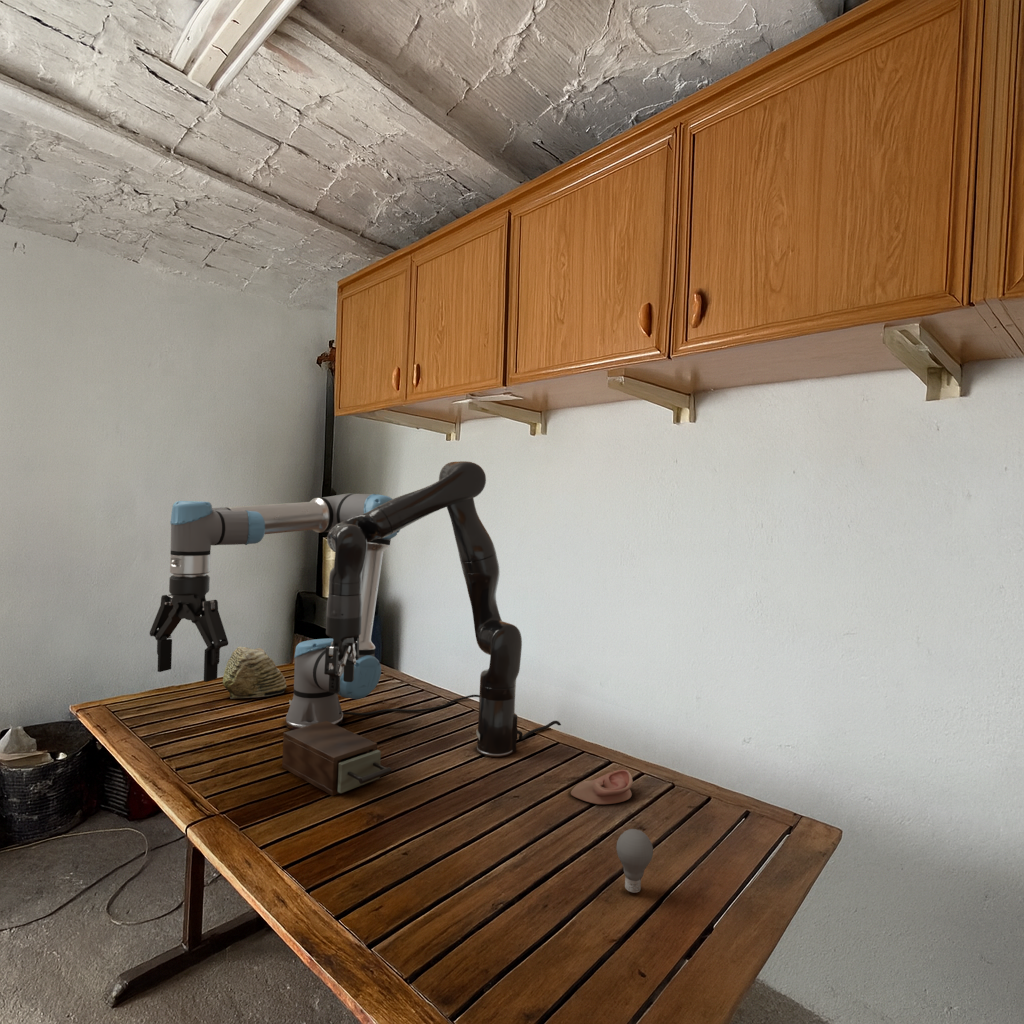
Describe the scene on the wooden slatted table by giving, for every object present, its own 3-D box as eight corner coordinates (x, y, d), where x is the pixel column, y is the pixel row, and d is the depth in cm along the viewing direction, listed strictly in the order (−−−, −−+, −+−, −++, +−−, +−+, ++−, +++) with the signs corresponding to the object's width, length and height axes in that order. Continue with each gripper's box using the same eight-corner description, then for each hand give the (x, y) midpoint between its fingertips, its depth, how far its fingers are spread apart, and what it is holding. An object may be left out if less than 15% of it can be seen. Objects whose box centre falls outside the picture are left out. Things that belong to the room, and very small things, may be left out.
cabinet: (375, 779, 143) (377, 743, 143) (332, 796, 134) (333, 757, 134) (325, 753, 156) (326, 720, 156) (282, 767, 147) (283, 732, 147)
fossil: (218, 695, 195) (220, 647, 195) (278, 685, 208) (279, 640, 207) (228, 703, 189) (230, 653, 188) (289, 692, 201) (290, 645, 201)
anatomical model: (569, 782, 136) (575, 761, 148) (568, 800, 136) (574, 778, 148) (632, 790, 134) (633, 768, 145) (631, 809, 134) (632, 785, 145)
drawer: (395, 786, 138) (396, 758, 138) (356, 802, 130) (357, 772, 130) (331, 754, 153) (332, 729, 153) (292, 767, 145) (293, 740, 145)
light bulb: (610, 879, 108) (613, 822, 108) (644, 879, 109) (647, 822, 109) (619, 902, 102) (622, 840, 102) (655, 901, 103) (658, 840, 103)
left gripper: (132, 571, 134) (129, 670, 135) (218, 581, 124) (215, 689, 125) (164, 568, 141) (161, 662, 142) (248, 578, 131) (245, 679, 132)
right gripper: (349, 621, 132) (346, 698, 133) (371, 609, 146) (368, 679, 147) (314, 618, 133) (311, 695, 133) (340, 607, 147) (337, 676, 148)
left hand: (186, 675), depth 133 cm, fingers open, 13 cm apart
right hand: (341, 686), depth 140 cm, fingers open, 8 cm apart
